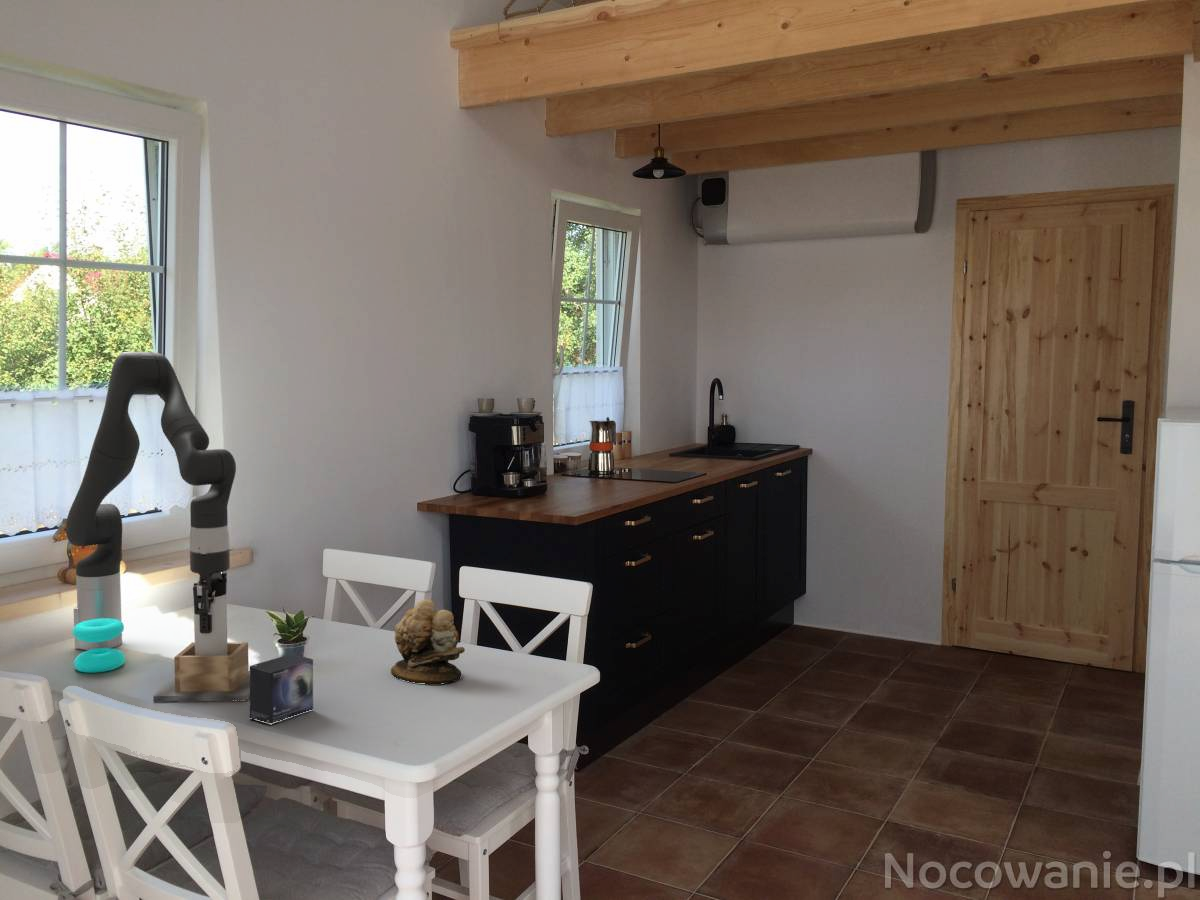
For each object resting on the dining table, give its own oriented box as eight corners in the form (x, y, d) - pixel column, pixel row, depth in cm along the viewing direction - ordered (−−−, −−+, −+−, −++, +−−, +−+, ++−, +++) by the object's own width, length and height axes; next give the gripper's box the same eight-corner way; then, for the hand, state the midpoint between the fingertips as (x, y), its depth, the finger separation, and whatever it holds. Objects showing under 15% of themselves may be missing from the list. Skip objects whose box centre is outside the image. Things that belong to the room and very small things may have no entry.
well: (153, 702, 200) (152, 661, 200) (181, 676, 216) (181, 638, 216) (246, 701, 201) (245, 660, 201) (267, 676, 217) (267, 638, 217)
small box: (271, 727, 188) (270, 671, 187) (248, 720, 191) (246, 665, 190) (315, 710, 197) (314, 657, 196) (292, 704, 200) (291, 652, 199)
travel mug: (218, 680, 205) (216, 582, 203) (189, 677, 206) (186, 580, 204) (235, 670, 211) (233, 576, 209) (206, 668, 212) (204, 574, 210)
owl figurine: (478, 675, 220) (478, 598, 219) (445, 691, 210) (445, 610, 208) (412, 662, 229) (411, 587, 227) (377, 676, 218) (376, 599, 217)
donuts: (86, 616, 226) (131, 617, 226) (88, 660, 227) (133, 660, 227) (63, 628, 216) (110, 628, 216) (65, 674, 217) (112, 674, 217)
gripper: (202, 541, 213) (204, 619, 215) (178, 554, 199) (180, 638, 200) (239, 541, 214) (240, 619, 215) (217, 554, 199) (219, 638, 201)
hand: (211, 628), depth 208 cm, fingers closed on travel mug, 6 cm apart
